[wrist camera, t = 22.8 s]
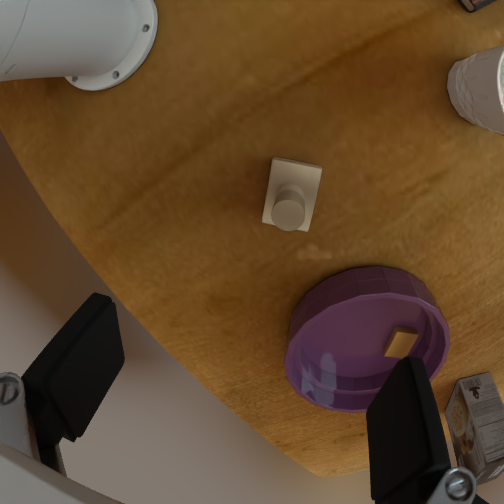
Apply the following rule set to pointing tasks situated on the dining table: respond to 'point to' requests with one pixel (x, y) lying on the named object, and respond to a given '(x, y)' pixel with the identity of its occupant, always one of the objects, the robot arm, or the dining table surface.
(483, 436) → the coffee box
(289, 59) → the dining table surface
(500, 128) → the white cup
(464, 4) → the hardcover book
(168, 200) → the dining table surface
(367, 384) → the bowl
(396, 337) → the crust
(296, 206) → the beige stamp
